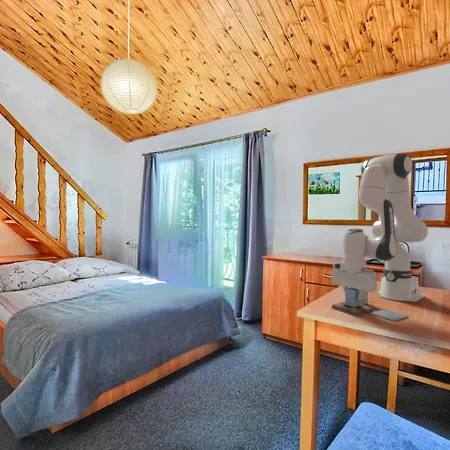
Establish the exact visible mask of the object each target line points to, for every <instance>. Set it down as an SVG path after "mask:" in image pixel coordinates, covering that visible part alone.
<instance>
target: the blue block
mask: <svg viewBox="0 0 450 450" xmlns="http://www.w3.org/2000/svg"><path fill="white" fill-rule="evenodd" d="M359 293H360V292H359V289H354V288H350V287H348V288H347V289H346V296H345V295H344V297H345V300H344V302H345V305H349V306H352V307H351V308H354V307H357V306H361V300H358V299H357V295H359Z"/></svg>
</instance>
